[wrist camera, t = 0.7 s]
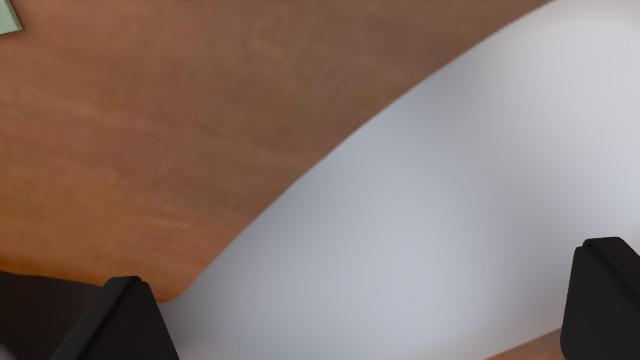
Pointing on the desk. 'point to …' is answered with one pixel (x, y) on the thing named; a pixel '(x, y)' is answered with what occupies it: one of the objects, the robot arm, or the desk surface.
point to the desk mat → (8, 18)
